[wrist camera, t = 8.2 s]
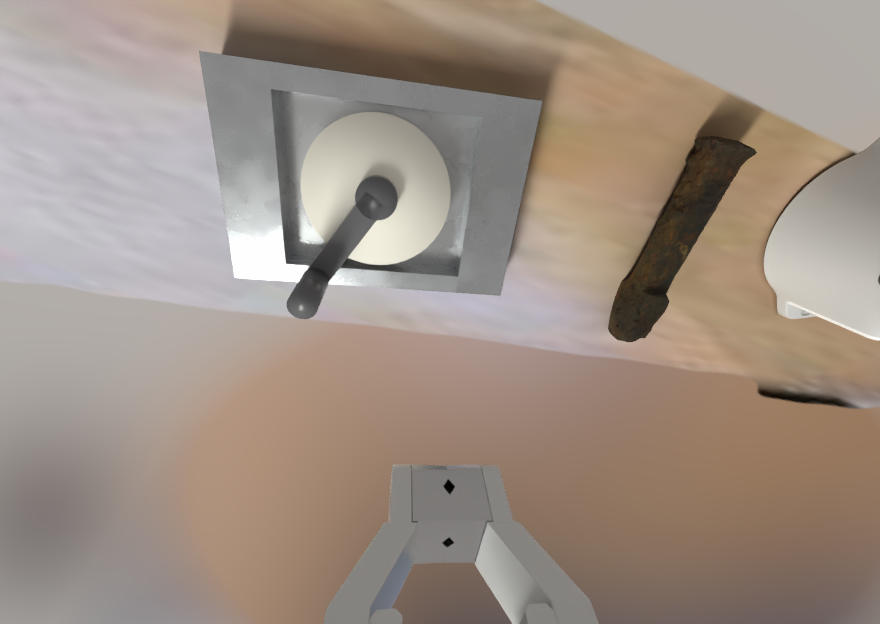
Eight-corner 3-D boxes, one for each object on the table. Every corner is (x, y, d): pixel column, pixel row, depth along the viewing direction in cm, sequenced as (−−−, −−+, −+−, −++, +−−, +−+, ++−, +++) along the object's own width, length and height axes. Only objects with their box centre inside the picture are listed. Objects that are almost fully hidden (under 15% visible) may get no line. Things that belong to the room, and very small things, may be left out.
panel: (529, 101, 28) (543, 101, 25) (491, 287, 35) (499, 302, 33) (220, 57, 25) (198, 50, 22) (249, 270, 32) (235, 285, 30)
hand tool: (690, 130, 30) (735, 133, 26) (728, 145, 31) (776, 151, 27) (584, 322, 39) (605, 347, 35) (616, 329, 40) (640, 354, 36)
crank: (475, 181, 29) (497, 202, 23) (368, 307, 34) (361, 355, 27) (361, 74, 25) (347, 61, 19) (256, 234, 30) (215, 269, 23)
